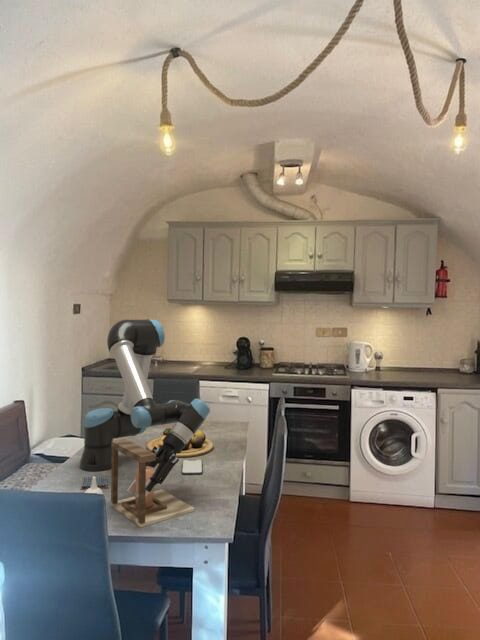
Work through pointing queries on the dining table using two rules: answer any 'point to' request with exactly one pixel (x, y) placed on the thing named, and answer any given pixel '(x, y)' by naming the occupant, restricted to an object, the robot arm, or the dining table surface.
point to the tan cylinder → (149, 474)
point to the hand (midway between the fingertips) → (134, 495)
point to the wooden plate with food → (187, 445)
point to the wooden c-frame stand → (142, 490)
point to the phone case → (192, 467)
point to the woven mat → (100, 482)
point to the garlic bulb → (94, 487)
